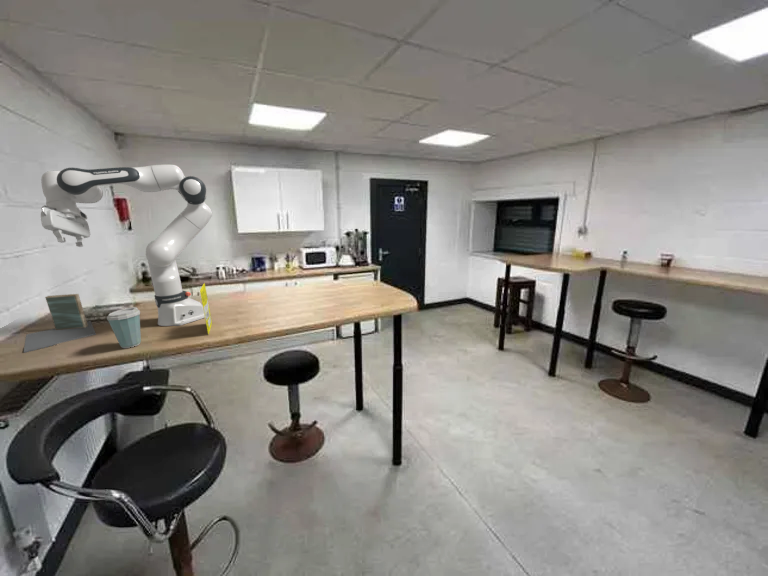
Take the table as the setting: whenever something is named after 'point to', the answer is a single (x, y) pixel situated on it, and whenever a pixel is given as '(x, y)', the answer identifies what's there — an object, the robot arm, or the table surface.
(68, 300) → the ash tile
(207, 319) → the food package
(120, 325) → the disposable coffee cup
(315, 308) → the table surface
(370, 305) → the table surface
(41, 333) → the charcoal mat
